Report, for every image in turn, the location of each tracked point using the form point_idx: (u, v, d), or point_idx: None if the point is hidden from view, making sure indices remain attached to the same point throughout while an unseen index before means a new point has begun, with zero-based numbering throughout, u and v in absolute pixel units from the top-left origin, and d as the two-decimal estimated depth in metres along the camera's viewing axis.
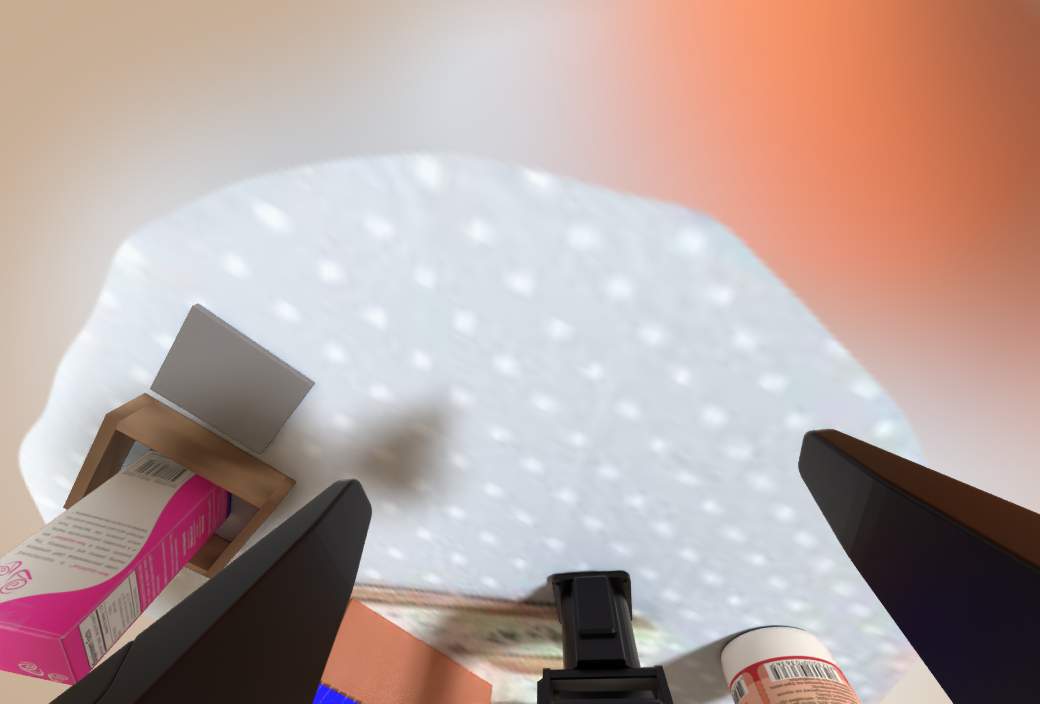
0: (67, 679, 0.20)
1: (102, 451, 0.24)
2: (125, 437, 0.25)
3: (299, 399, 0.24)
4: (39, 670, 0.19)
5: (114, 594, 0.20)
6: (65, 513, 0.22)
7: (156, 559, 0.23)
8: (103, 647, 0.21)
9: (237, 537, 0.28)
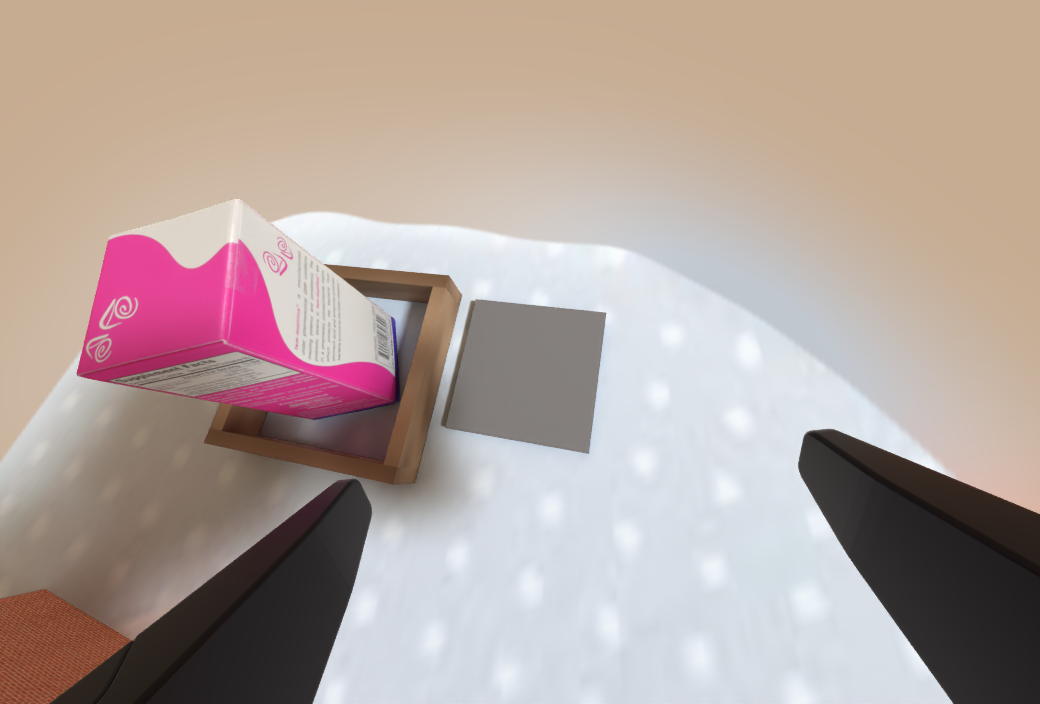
0: (96, 361, 0.12)
1: (391, 280, 0.22)
2: (405, 293, 0.23)
3: (559, 445, 0.19)
4: (117, 323, 0.12)
5: (269, 366, 0.14)
6: (335, 275, 0.18)
7: (299, 385, 0.16)
8: (150, 382, 0.13)
9: (310, 451, 0.19)
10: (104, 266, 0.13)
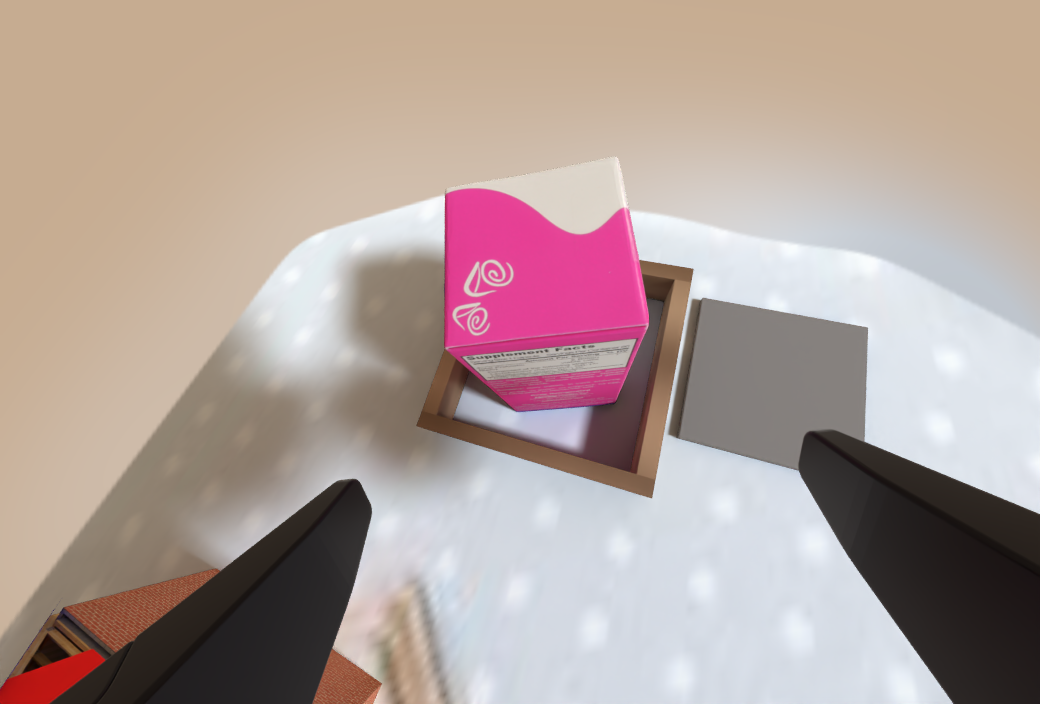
0: (472, 333, 0.10)
1: None
2: None
3: None
4: (489, 290, 0.10)
5: (618, 357, 0.12)
6: None
7: (591, 378, 0.14)
8: (491, 362, 0.11)
9: (545, 449, 0.17)
10: (451, 222, 0.11)
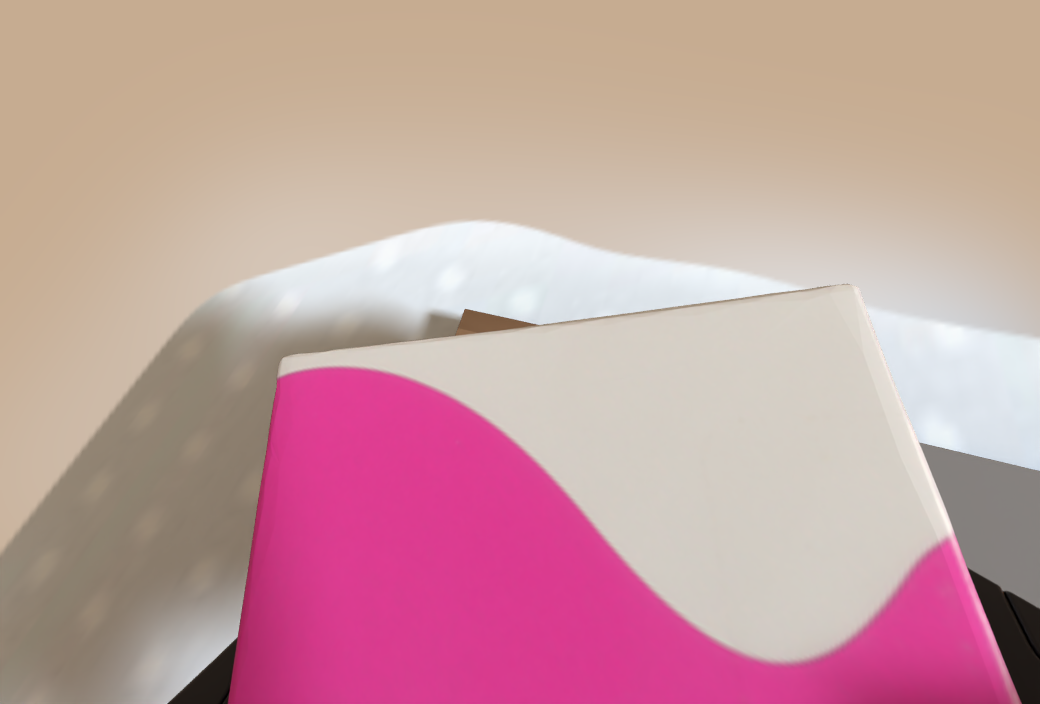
0: None
1: None
2: None
3: None
4: None
5: None
6: None
7: None
8: None
9: None
10: (273, 500, 0.03)
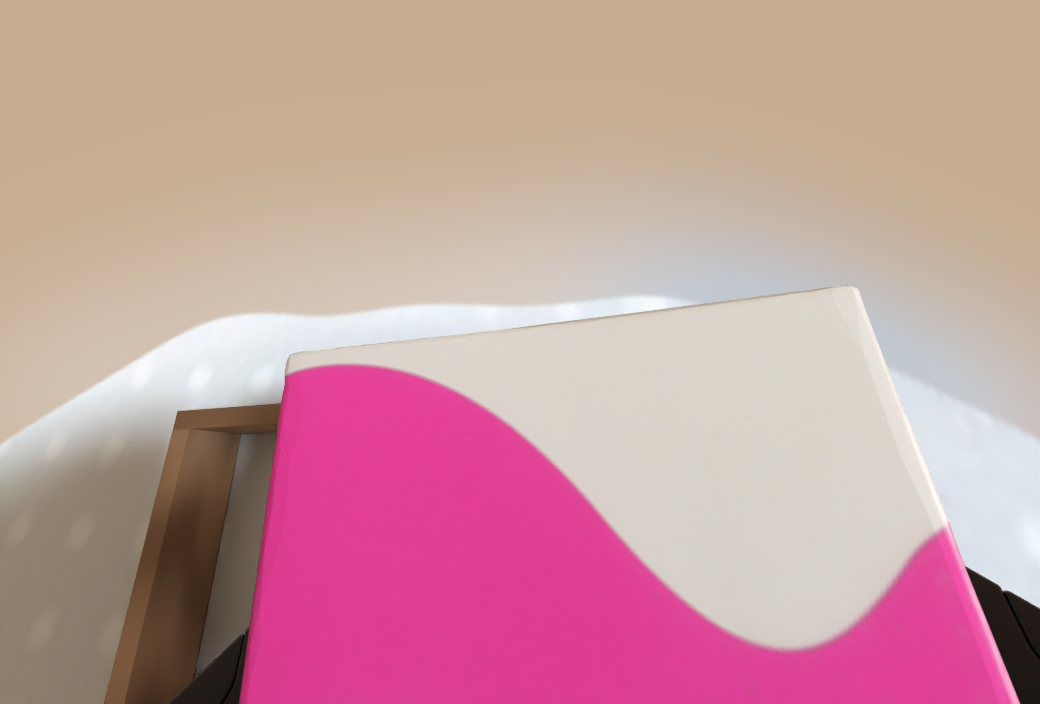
0: None
1: None
2: None
3: None
4: None
5: None
6: None
7: None
8: None
9: None
10: (283, 497, 0.03)
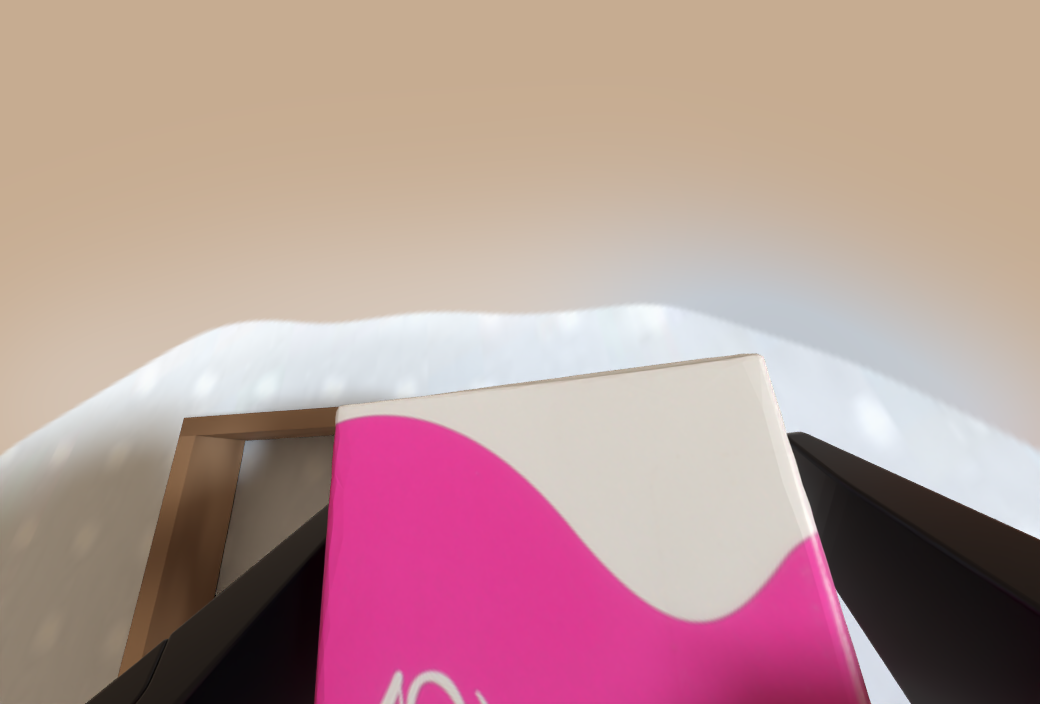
0: None
1: None
2: None
3: None
4: None
5: None
6: None
7: None
8: None
9: None
10: (341, 518, 0.04)
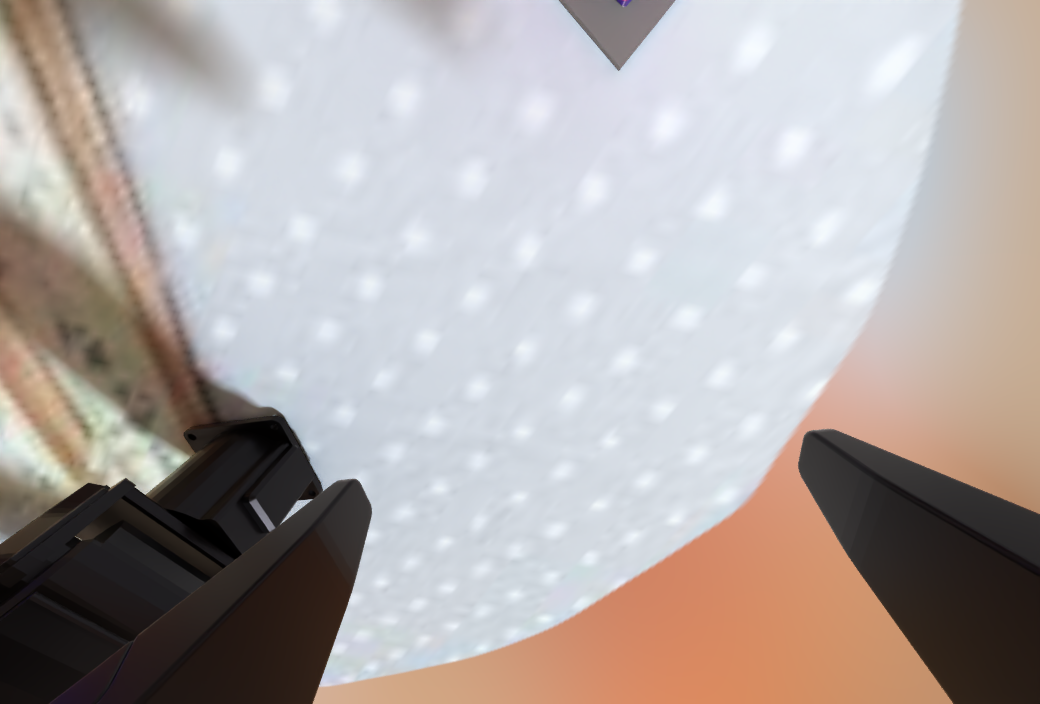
0: None
1: None
2: None
3: (594, 31, 0.13)
4: None
5: None
6: None
7: None
8: None
9: None
10: None
